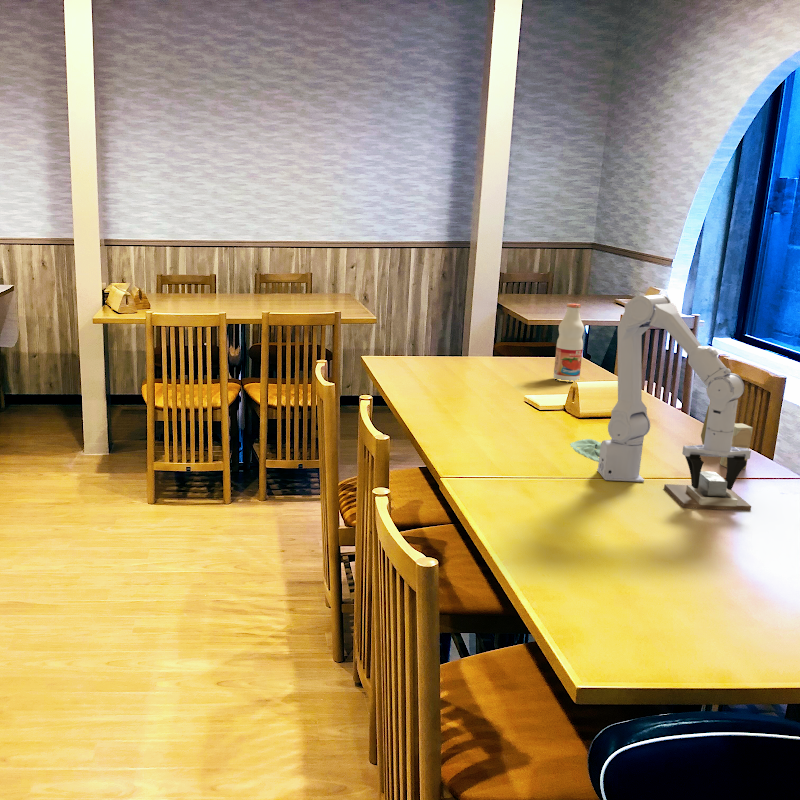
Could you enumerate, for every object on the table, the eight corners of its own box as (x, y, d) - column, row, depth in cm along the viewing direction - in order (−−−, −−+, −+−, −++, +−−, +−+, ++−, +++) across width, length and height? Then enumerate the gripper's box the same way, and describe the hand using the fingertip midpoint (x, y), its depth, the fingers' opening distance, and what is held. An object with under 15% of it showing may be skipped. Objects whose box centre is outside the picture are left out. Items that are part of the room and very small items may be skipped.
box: (729, 469, 222) (735, 427, 219) (719, 464, 226) (725, 423, 223) (747, 469, 223) (753, 427, 221) (736, 463, 227) (742, 422, 225)
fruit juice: (568, 376, 327) (575, 302, 321) (584, 382, 319) (592, 305, 312) (548, 378, 323) (555, 302, 316) (564, 383, 315) (571, 305, 308)
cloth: (578, 439, 245) (579, 431, 245) (657, 454, 234) (658, 445, 234) (551, 455, 228) (552, 446, 227) (634, 473, 217) (635, 463, 217)
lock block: (706, 502, 193) (709, 480, 192) (694, 491, 200) (697, 471, 199) (724, 503, 193) (727, 481, 192) (712, 492, 200) (715, 471, 199)
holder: (684, 508, 191) (685, 497, 191) (664, 488, 205) (665, 477, 204) (751, 511, 192) (753, 500, 192) (727, 490, 205) (728, 480, 205)
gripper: (694, 432, 188) (685, 492, 192) (760, 435, 189) (750, 494, 192) (682, 423, 195) (674, 481, 198) (746, 426, 196) (737, 484, 199)
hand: (711, 487), depth 196 cm, fingers open, 7 cm apart
